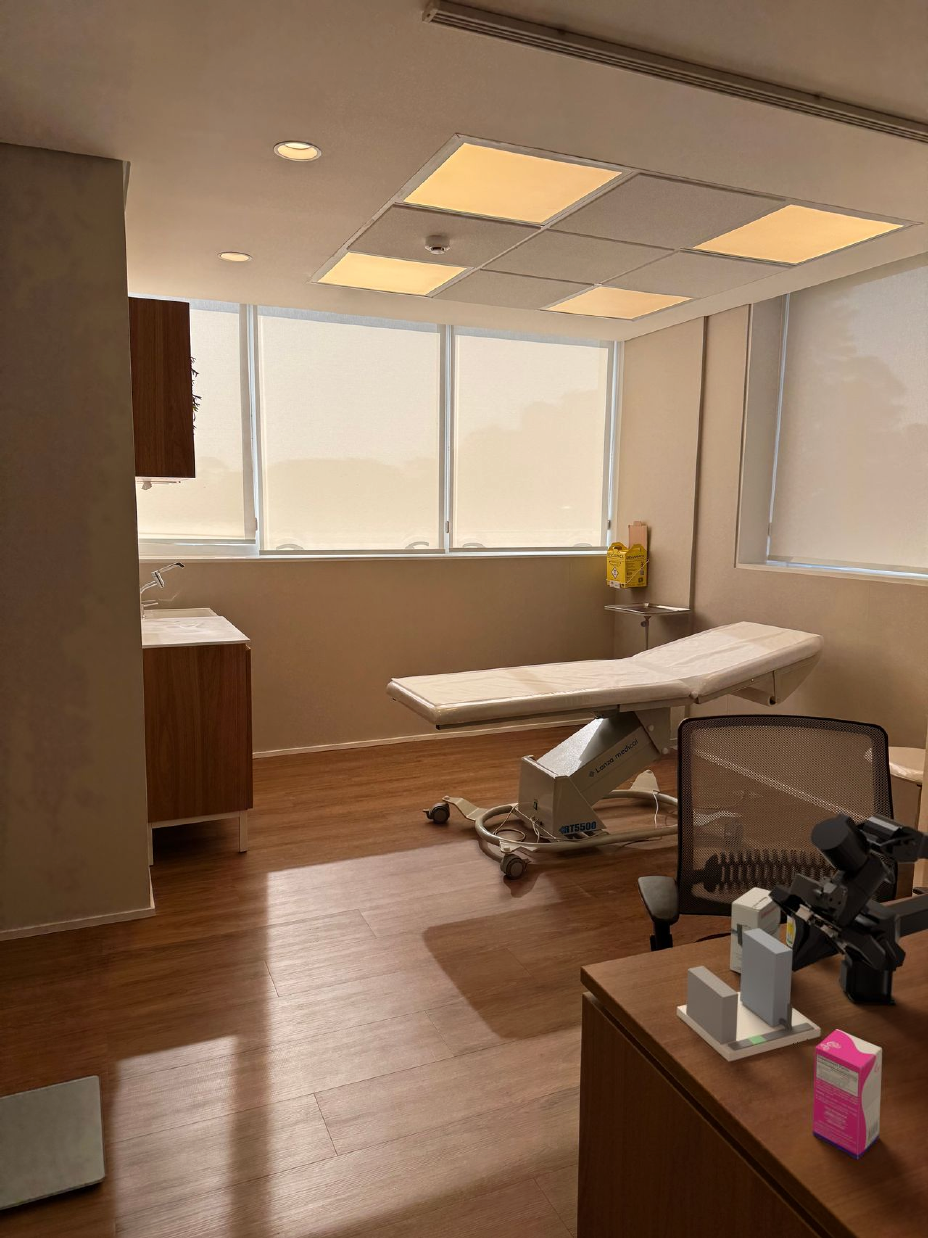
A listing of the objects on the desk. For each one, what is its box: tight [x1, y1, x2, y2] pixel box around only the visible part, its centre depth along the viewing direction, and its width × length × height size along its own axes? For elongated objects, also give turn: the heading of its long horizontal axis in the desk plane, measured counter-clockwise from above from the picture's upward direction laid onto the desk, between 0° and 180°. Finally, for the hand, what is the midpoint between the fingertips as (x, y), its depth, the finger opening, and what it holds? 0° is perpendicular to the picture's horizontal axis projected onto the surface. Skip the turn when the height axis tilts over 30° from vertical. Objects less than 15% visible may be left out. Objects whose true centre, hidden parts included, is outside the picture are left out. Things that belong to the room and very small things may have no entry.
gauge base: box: [676, 965, 822, 1062], centre depth 126 cm, size 16×12×8 cm
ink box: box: [729, 887, 782, 974], centre depth 142 cm, size 9×5×12 cm, turn 136°
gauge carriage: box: [739, 928, 793, 1030], centre depth 126 cm, size 3×9×11 cm, turn 21°
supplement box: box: [812, 1028, 883, 1160], centre depth 103 cm, size 6×6×12 cm
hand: (790, 969), depth 128 cm, fingers closed
